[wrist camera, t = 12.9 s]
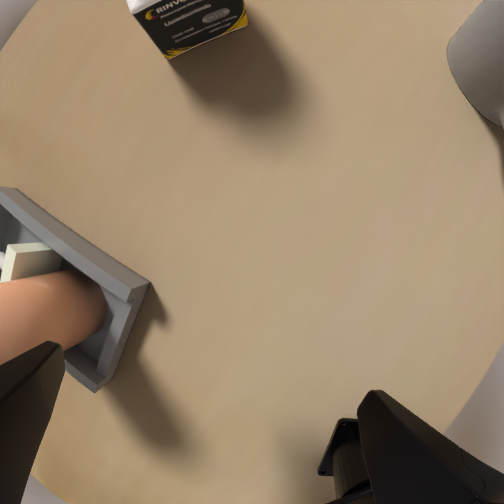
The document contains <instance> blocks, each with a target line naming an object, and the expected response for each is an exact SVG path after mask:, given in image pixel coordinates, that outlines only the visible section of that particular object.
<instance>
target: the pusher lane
mask: <svg viewBox="0 0 504 504" xmlns="http://www.w3.org/2000/svg"><path fill="white" fill-rule="evenodd" d="M38 242H45V243H46V244H47V245H48V246H50V247H51V248H52V249H53V250H55V251H56V252H57V253H58V254H60V255H61V256H62V257H63V259H62V262H61V266H60V269H59V271H64V270H69V269H79V270H81V271H82V272H83V273H85V274H86V275H87V276H89V277H90V278H92V279H93V280H94V281H96V282H97V283H98V284H99V285H100V287H101V289H102V291H103V294H104V297H105V301H106V319H105V323H104V325H103V327H102V329H101V330H100V331H99V332H98V333H97V334H95V335H93V336H91V337H89V338H88V339H86V340H84V341H82V342H80V343H78V344H76V345H75V346H73V347H71V348H69V349H67V350H65V351H64V352H63V356H64V362H65V371H67V372H68V373H69V374H70V375H72V376H73V377H74V378H75V379H76V380H78V381H79V382H80V383H82V384H83V385H84V386H85V387H87V388H88V389H89V390H91V391H92V392H93V393H96V392H97V391H98V390H99V389H101V388H102V387H103V386H104V385H105V384H106V383H108V382H109V381H110V380H111V379H112V378H113V376H114V373H115V371H116V368H117V365H118V362H119V360H120V357H121V354H122V351H123V349H124V346H125V344H126V341H127V338H128V336H129V333H130V331H131V328H132V326H133V323H134V321H135V318H136V316H137V313H138V311H139V308H140V306H141V303H142V301H143V299H144V296H145V294H146V292H147V289H148V287H149V285H150V281H149V280H147V279H145V278H144V277H142V276H141V275H139V274H137V273H136V272H134V271H133V270H131V269H129V268H128V267H126V266H125V265H123V264H122V263H120V262H119V261H117V260H116V259H114V258H113V257H111V256H109V255H108V254H106V253H105V252H103V251H102V250H100V249H99V248H98V247H96V246H95V245H93V244H92V243H90V242H89V241H87V240H86V239H84V238H83V237H81V236H80V235H79V234H77V233H76V232H74V231H73V230H72V229H70V228H69V227H67V226H66V225H65V224H63V223H62V222H60V221H59V220H58V219H56V218H55V217H54V216H52V215H51V214H49V213H48V212H47V211H45V210H44V209H43V208H41V207H40V206H39V205H37V204H36V203H35V202H34V201H32V200H31V199H30V198H28V197H27V196H26V195H24V194H23V193H22V192H21V191H19V190H18V189H16V188H8V187H0V252H3V253H4V254H6V250H7V245H8V244H23V243H38ZM1 274H2V270H1V269H0V280H1Z"/></svg>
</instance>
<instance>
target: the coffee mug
mask: <svg viewBox="0 0 504 504" xmlns="http://www.w3.org/2000/svg"><path fill="white" fill-rule="evenodd" d="M447 59H448V63H449V66H450V70H451V72H452V75H453V77H454V79H455V81H456V83H457V84H458V86H459V88H460V89H461V91H462V92H463V94H464V95H465V96H466V98H467V99H468V100H469V102H470V103H471V104H472V105H473V106H474V107H475V108H476V109H477V110H478V111H479V112H480V113H481V114H482V115H483V116H484V117H485V118H487V119H488V120H489V121H491V122H493V123H494V124H496V125H498V126H501V127H503V131H504V0H483V1H482V2H481V3H480V4H479V6H478V7H477V8H476V9H475V11H474V12H473V13H472V14H471V15H470V17H469V18H468V19H467V20H466V21H465V23H464V24H463V25H462V26H461V28H460V29H459V30H458V31H457V32H456V34H455V35H454V36H453V37H452V38H451V40H450V41H449V43H448V46H447Z"/></svg>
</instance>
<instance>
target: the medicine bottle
mask: <svg viewBox="0 0 504 504" xmlns="http://www.w3.org/2000/svg"><path fill="white" fill-rule="evenodd" d="M126 1H127V4H128V6H129V9H130V12H131V14H132V15H133V16H134V18H135V19H136V20H137V21H138V23H139V24H140V25H141V27H142V28H143V29H144V31H145V32H146V33H147V34H148V36H149V37H150V38H151V40H152V41H153V42H154V44H155V45H156V46H157V48H158V49H159V50H160V52H161V53H162V54H163V56H164V57H165V58H166V59H172V58H174V57H176V56H178V55H180V54H182V53H184V52H186V51H188V50H190V49H192V48H194V47H197V46H199V45H201V44H203V43H205V42H208V41H210V40H212V39H215V38H217V37H220V36H222V35H225V34H227V33H230V32H232V31H235V30H237V29H240V28H243V27H246V26H247V25H248V19H247V15H246V10H245V5H244V1H243V0H126Z"/></svg>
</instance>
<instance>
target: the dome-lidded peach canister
mask: <svg viewBox="0 0 504 504" xmlns="http://www.w3.org/2000/svg"><path fill="white" fill-rule="evenodd" d="M105 319H106V301H105V297H104V294H103V291H102V289H101V287H100V285H99V284H98V283H97V282H96V281H94V280H93V279H92V278H90V277H89V276H87V275H86V274H85V273H83V272H82V271H81V270H79V269H69V270H64V271H58V272H53V273H48V274H43V275H37V276H32V277H27V278H22V279H17V280H12V281H7V282H2V283H0V365H1V364H3V363H5V362H7V361H9V360H10V359H12V358H14V357H16V356H18V355H20V354H22V353H24V352H26V351H28V350H30V349H31V348H33V347H35V346H37V345H39V344H41V343H43V342H45V341H47V340H50V341H53V342H56V343H59V344H61V346H62V349H63V352H64V351H65V350H67V349H69V348H71V347H73V346H75V345H76V344H78V343H80V342H82V341H84V340H86V339H88V338H89V337H91V336H93V335H95V334H97V333H98V332H99V331H100V330H101V329H102V327H103V325H104V323H105Z"/></svg>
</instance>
